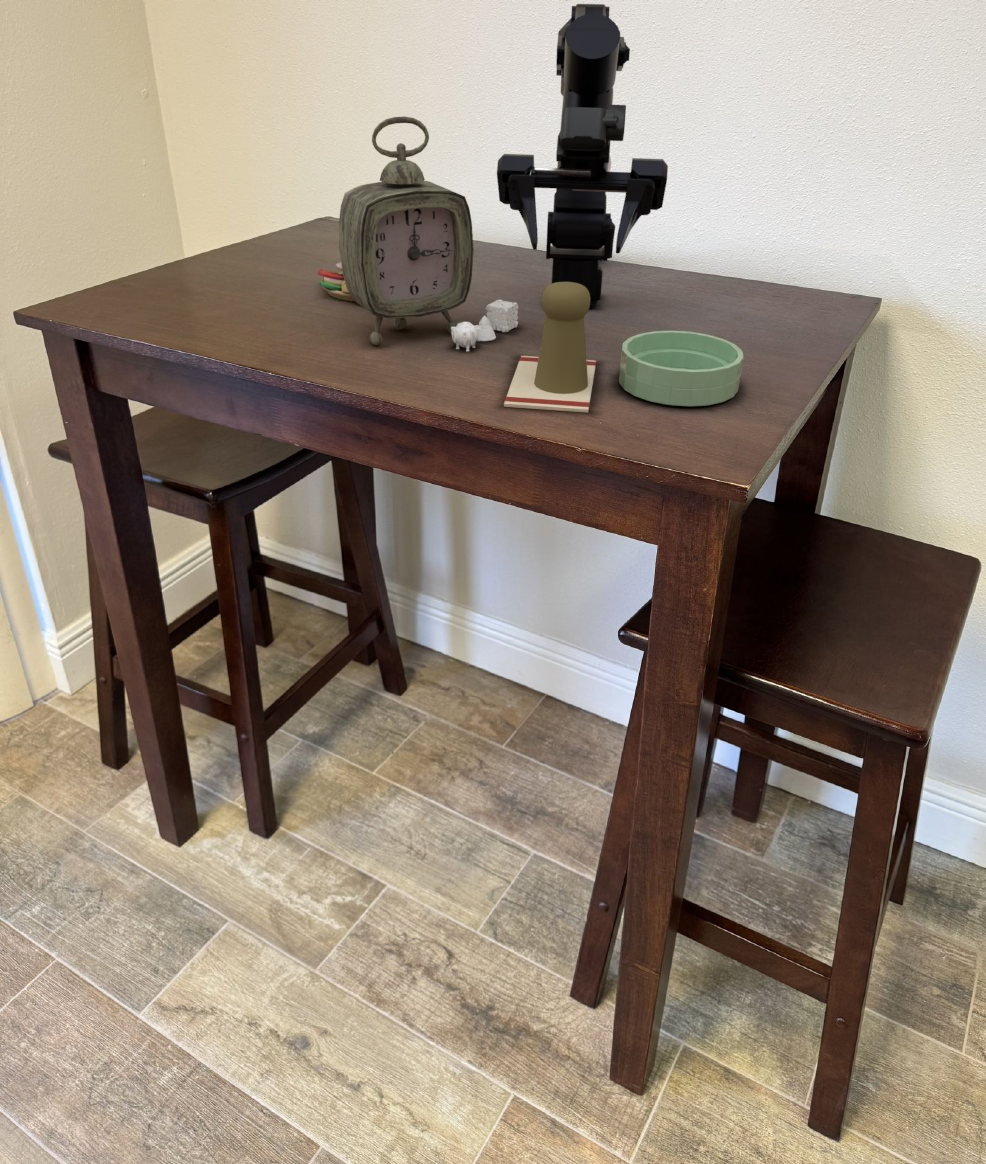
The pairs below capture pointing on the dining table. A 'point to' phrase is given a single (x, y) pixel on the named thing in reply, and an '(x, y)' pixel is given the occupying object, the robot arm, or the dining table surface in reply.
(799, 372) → the dining table surface
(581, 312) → the cork
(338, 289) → the toy food set
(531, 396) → the towel
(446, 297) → the tabletop clock
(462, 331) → the game pieces
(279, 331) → the dining table surface
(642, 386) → the bowl
